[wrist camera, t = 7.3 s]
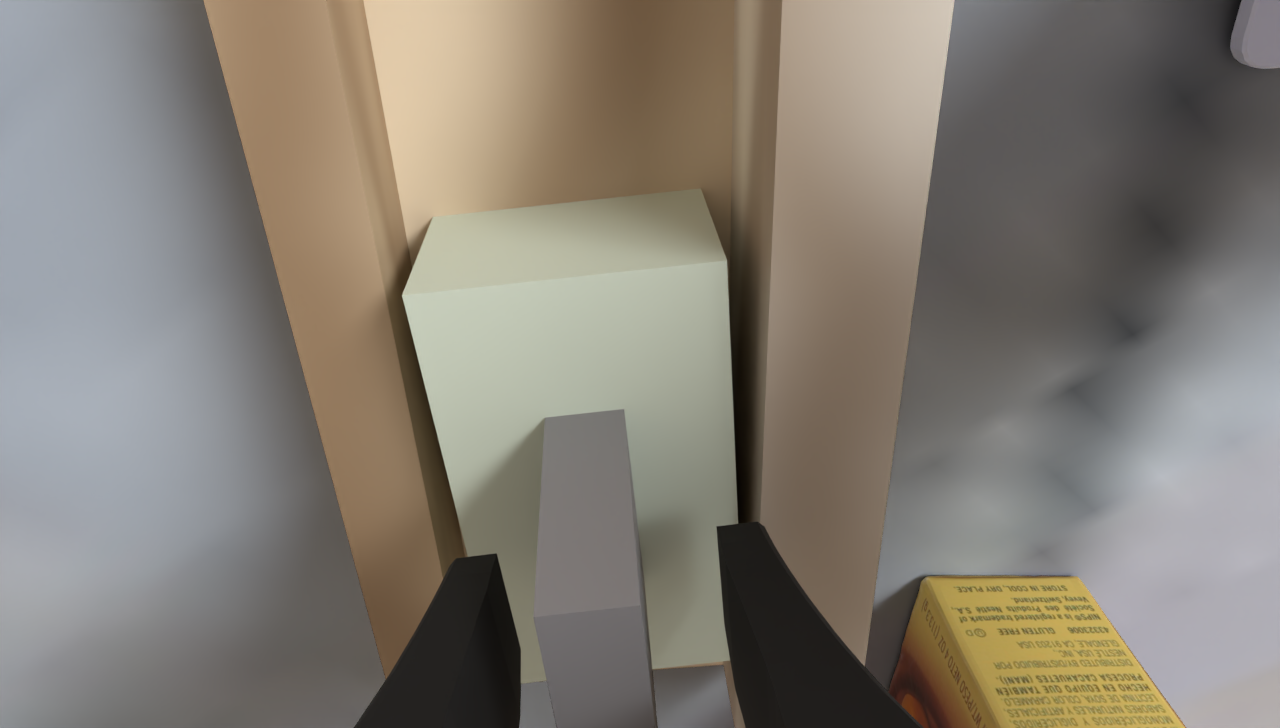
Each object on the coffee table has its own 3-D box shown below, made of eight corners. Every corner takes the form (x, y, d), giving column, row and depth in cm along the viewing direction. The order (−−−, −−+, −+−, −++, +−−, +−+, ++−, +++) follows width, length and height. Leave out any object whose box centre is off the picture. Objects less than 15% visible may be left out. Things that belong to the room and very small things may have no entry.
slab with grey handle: (700, 188, 15) (785, 423, 9) (721, 547, 19) (788, 877, 13) (433, 217, 15) (332, 473, 9) (511, 570, 19) (479, 912, 13)
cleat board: (883, -469, 11) (1039, -631, 8) (798, 626, 22) (847, 796, 18) (179, -448, 11) (-34, -605, 7) (429, 653, 21) (395, 832, 17)
